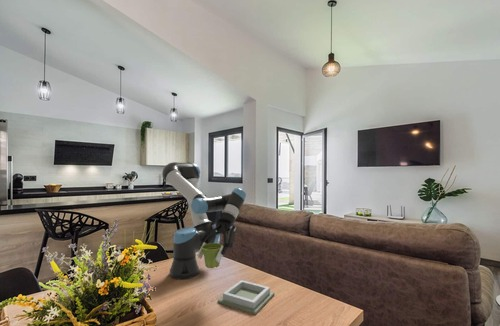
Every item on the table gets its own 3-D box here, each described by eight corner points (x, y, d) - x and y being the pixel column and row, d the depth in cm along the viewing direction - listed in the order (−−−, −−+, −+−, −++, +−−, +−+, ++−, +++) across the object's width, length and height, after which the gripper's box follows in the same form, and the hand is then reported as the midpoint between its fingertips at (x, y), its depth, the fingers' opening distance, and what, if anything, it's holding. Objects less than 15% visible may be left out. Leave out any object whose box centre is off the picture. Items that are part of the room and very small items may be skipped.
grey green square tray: (217, 302, 108) (217, 294, 108) (240, 285, 124) (240, 278, 124) (255, 314, 99) (255, 305, 99) (274, 294, 115) (274, 286, 115)
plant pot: (219, 270, 108) (219, 250, 108) (198, 269, 109) (198, 248, 110) (225, 262, 117) (225, 243, 117) (206, 261, 119) (205, 242, 119)
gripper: (251, 222, 121) (232, 267, 107) (214, 218, 132) (193, 259, 118) (245, 213, 117) (225, 259, 103) (207, 209, 128) (184, 250, 114)
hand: (207, 259), depth 111 cm, fingers closed on plant pot, 9 cm apart
